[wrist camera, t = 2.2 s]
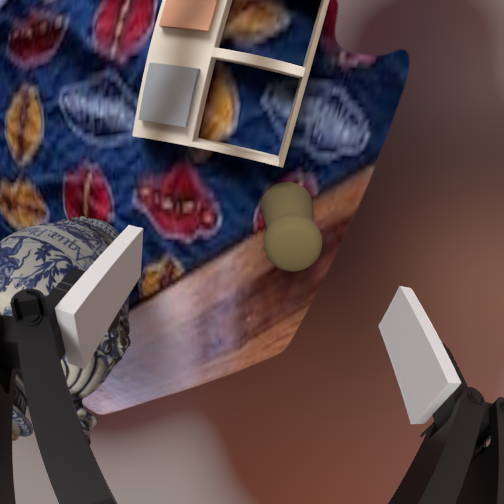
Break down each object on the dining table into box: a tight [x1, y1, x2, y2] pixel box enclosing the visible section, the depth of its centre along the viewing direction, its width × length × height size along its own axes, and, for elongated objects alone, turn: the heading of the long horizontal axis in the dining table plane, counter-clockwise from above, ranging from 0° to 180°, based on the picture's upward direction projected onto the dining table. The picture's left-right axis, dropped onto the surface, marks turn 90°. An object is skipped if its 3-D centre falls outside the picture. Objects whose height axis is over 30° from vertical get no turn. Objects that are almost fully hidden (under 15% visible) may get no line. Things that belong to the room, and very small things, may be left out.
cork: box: [261, 182, 322, 271], centre depth 32 cm, size 6×6×11 cm
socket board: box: [133, 0, 329, 167], centre depth 27 cm, size 16×20×4 cm
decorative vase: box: [0, 216, 130, 445], centre depth 28 cm, size 21×19×28 cm
